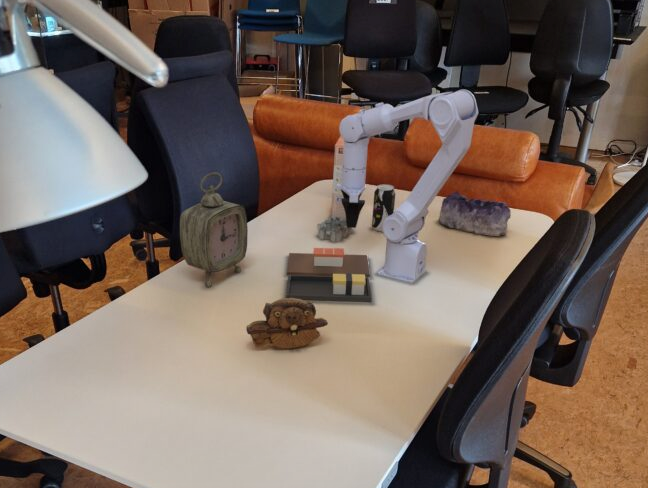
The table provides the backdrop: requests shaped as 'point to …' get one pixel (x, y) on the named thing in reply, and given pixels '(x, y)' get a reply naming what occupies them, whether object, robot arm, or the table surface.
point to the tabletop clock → (213, 233)
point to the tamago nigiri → (348, 284)
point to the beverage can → (382, 205)
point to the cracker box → (338, 181)
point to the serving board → (305, 266)
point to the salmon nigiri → (328, 257)
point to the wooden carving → (286, 324)
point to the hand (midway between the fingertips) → (350, 221)
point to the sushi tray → (321, 289)
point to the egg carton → (333, 228)
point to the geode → (474, 215)
